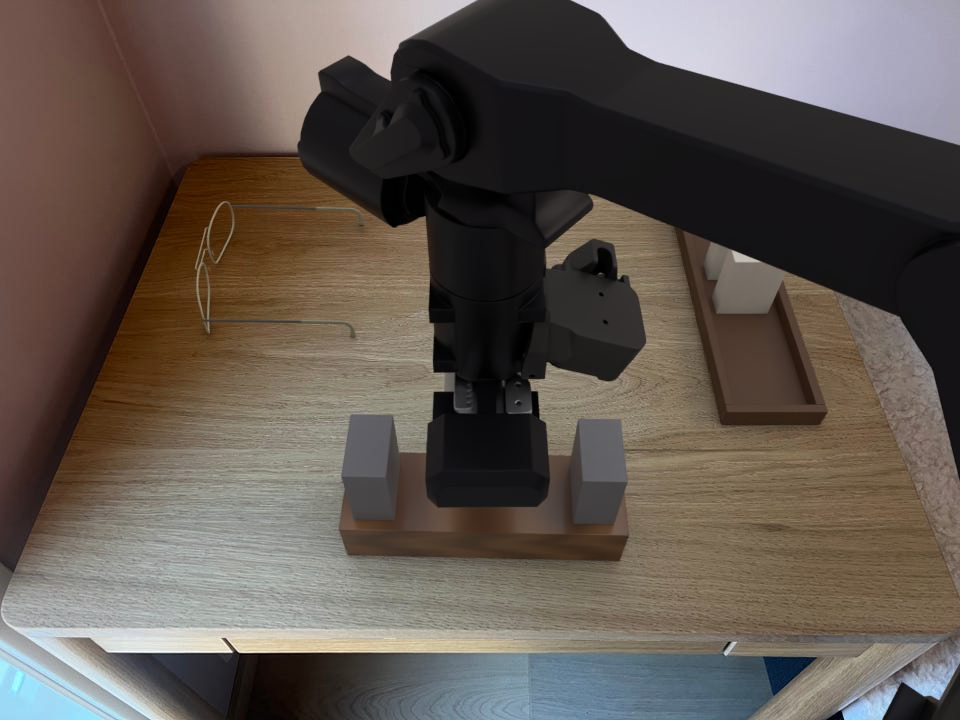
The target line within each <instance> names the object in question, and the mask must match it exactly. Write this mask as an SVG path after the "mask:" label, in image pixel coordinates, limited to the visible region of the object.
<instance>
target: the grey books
mask: <svg viewBox="0 0 960 720" xmlns="http://www.w3.org/2000/svg"><path fill="white" fill-rule="evenodd" d="M348 422H349V423H348V429H347V437H346V442H345V447H344V448H345V449H344V454H343V461H342V467H341V474H340V478H341V480H342V481H341V482H342V485H343V488H344V491H346V495H347V498H348V501H349V505H350V508H351V511H352V515H353V518H354V520H395V512H396V502H397V492H398V482H399V472H400V462H401V461H400V455H399V452H400V449H399V443H398V436H397V430H396V426H395V420H394V415H393V414H366V413H365V414H361V413H360V414H358V413H357V414H356V413H350V415H349V421H348ZM624 444H625V443H624V435H623V425H622V420H621V418H582V417H581V418H578V419H577V422H576V428H575V433H574V439H573V444H572V450H571V455H570V456H571V460H570V479H571V496H572V513H573V524H598V525H614V524H615V521H616V517H617V514H618V511H619V508H620V505H621V502H622V498H623V495H624V493H625V492H626V489H627V486H628V482H629V481H628V471H627V463H626V461H627V460H626V452H625V445H624Z"/></svg>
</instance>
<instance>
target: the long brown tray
mask: <svg viewBox="0 0 960 720" xmlns="http://www.w3.org/2000/svg"><path fill="white" fill-rule="evenodd" d="M674 229H675V230H674V231H675V233H676V238H677V242H678V245H679V247H678V248H679V250H680V255H681V258H682V263H683V268H684V272H685V276H686V280H687V281H686V282H687V285H688V289H689V292H690V293H689V294H690V298H691V301H692V305H693V310H694V314H695V319H696V322H697V327H698V331H699V336H700V340H701V344H702V348H703V353H704V356H705V360H706V364H707V370H708V374H709V377H710V382H711V386H712V391H713V394H714V399H715V402H716V407H717V412H718V416H719V419H720V420H719V421H720V425H726V426H727V425H728V426H729V425H731V426H733V425H734V426H735V425H736V426H742V425H743V426H744V425H745V426H746V425H747V426H749V425H750V426H756V425H757V426H759V425H766V426H769V425H770V426H771V425H774V426H775V425H776V426H779V425H780V426H781V425H782V426H783V425H784V426H786V425H787V426H789V425H790V426H791V425H794V426H795V425H796V426H797V425H798V426H800V425H801V426H802V425H803V426H804V425H806V426H808V425H809V426H810V425H814V426H817V425H818V426H819V425H821V424H822V422H823V421H824V419H825V418H826V417H827V415H828V413H829V410H828V407H827V404H826V401H825V398H824V394H823V393H822V389H821V387H820V384H819V381H818V378H817V375H816V372H815V369H814V366H813V364H812V360H811V357H810V354H809V351H808V349H807V346H806V343H805V340H804V337H803V335H802V332H801V328H800V326H799V323H798V320H797V317H796V313H795V310H794V308H793V305H792V302H791V300H790V296H789V294H788V290H787V288H786V285H785V283H784V279H783V280H782V282H781V285H780V287H779V289H778V291H777V293H776V296H775V298H774V300H773V302H772V305H771V307H770V309H769V311H768V313H767V314H716V312H715V308H714V304H713V300H712V295H713V293H714V290H715V287H716V284H717V281H718V280H707V277H706V273H705V269H704V262H705V259H706V256H707V252H708V249H709V246H710V243H711V242H710V241H708V240H705V239H703V238H700V237H698V236H695V235H693V234H690V233H688V232H685V231H683V230H680V229H678V228H675V227H674Z"/></svg>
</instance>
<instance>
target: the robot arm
mask: <svg viewBox="0 0 960 720" xmlns="http://www.w3.org/2000/svg"><path fill="white" fill-rule="evenodd" d="M389 75H390V79H388V78H387V77H384V76H383V75H380V74H379V73H377V72H376V71H374V70H373V69H372V68H370V66H368V65H367V64H366V63H364V62H363V61H361V60H359V59H357V58H355V57H353V56H352V55H350V54H348V55H346V56H344V57H342V58H341V59H338V60H337V61H335V62H333V63H331V64H329V65H327V66H326V67H324V68H322V69H320V70H319V71H318V72H317V76H318V82H319V87H320V92H319V93H318V94H317V95H316V97H315V99H314V100H313V101H312V102H311V104H310V106H309V107H308V110H307V112H306V114H305V116H304V118H303V122H302V125H301V129H300V135H299V141H298V142H297V144H296V148H297V154H298V159H299V160H300V163H301V165H302V167H303V168H304V169H305V171H306V172H307V173H308V174H309V175H311V176H312V177H314V178H315V179H317V180H318V181H320V182H322V183H323V184H325V185H326V186H328V187H329V188H331V189H332V190H334V191H336V192H337V193H339V194H340V195H341V196H343V197H345V198H346V199H347V200H349V201H351V202H352V203H354V204H356V205H357V206H358V207H360V208H361V209H363V210H364V211H366V212H368V213H370V215H372V216H374V217H375V218H377V219H379V220H380V221H382V222H383V223H384V224H386V225H388V226H389V227H391V228H393V229H395V228H398V227H400V226H406V225H408V224H411V223H413V222H414V221H417V220H418V219H421V218H425V228H426V229H425V230H426V240H427V255H428V256H427V257H428V271H429V287H428V288H429V289H428V309H427V311H428V323H429V324H433V339H432V340H433V341H432V342H433V343H432V370H433V371H432V373H433V374H444V373H454V391H444V390H443V391H433V392H432V393H433V394H432V396H433V397H432V416H431V417H432V420H431V421H429V422H428V423H427V428H426V448H425V449H426V451H425V453H426V471H425V484H426V492H427V498H428V499H429V500H430V501H431V502H432V503H433V504H434V505H435V506H437V507H438V508H452V507H538V506H539V505H540V504H541V503H542V502H543V501H544V500H545V499H546V498H547V497H548V491H549V485H550V469H549V455H550V454H549V444H548V430H547V422H546V421H544V420H542V419H541V414H540V400H539V399H540V398H539V391H538V390H532V387H531V386H532V385H531V381H530V380H545V379H546V373H547V365H548V364H550V365H551V366H553V367H554V368H556V369H559V370H563V371H569V372H572V373H578V374H582V375H586V376H591V377H595V378H597V380H598V381H603V382H614V381H616V380H617V379H618V378H619V377H620V375H622V373H623V372H624V371H625V370H626V369H627V367H628V366H629V365H630V364H631V363H632V361H633V360H634V359H635V358H636V357H637V356H638V355H639V353H640V352H641V351H642V349H644V348H645V346H646V345H647V335H646V329H645V324H644V319H643V313H642V308H641V301H640V298H639V296H638V295H639V294H638V293H637V292H636V290H635V289H634V288H633V287H632V285H631V282H630V276H629V275H626V274H622V275H621V276H620V278H619V277H618V276H619V274H618V273H619V272H618V271H619V268H618V267H619V265H618V259H617V254H616V248H615V245H614V243H611V242H608V241H604V240H600V239H597V238H591V239H589V240H588V241H586V242H585V243H584V244H582V245H580V246H579V247H577V248H575V249H574V250H572V251H571V252H569V253H568V254H567V255H566V257H565V259H564V260H563V261H562V263H557V264H554V265H553V266H551V268H548V267H547V251H546V249H547V248H549V247H550V246H551V245H552V244H553V243H554V242H556V241H557V240H558V239H559V238H560V237H562V236H563V235H564V234H565V233H567V232H568V231H569V230H570V229H571V228H573V227H574V226H575V225H576V224H577V223H579V222H580V221H581V220H582V219H584V218H585V217H586V216H587V215H588V214H589V213H591V212H592V211H593V209H594V205H595V203H594V201H593V198H592V197H591V196H594V197H598V198H600V199H603V200H605V201H608V202H610V203H612V204H615V205H618V206H620V207H623V208H625V209H628V210H630V211H633V212H635V213H638V214H641V215H642V216H645V217H647V218H651V219H653V220H655V221H658V222H660V223H663V224H665V225H668V226H669V227H673V228H674V229H675V228H678V229H680V230H683V231H685V232H688V233H690V234H693V235H695V236H698V237H700V238H703V239H705V240H708V241H710V242H713V243H715V244H718V245H720V246H723V247H725V248H728V249H730V250H733V251H735V252H738V253H740V254H743V255H745V256H748V257H750V258H753V259H755V260H758V261H760V262H763V263H765V264H768V265H770V266H773V267H775V268H778V269H780V270H783V271H785V272H786V273H788V274H790V275H793V276H796V277H798V278H801V279H803V280H806V281H808V282H811V283H813V284H815V285H817V286H820V287H823V288H825V289H828V290H830V291H833V292H835V293H838V294H840V295H843V296H846V297H848V298H850V299H853V300H856V301H858V302H860V303H863V304H865V305H868V306H871V307H873V308H875V309H878V310H881V311H883V312H885V313H888V314H891V315H893V316H896V317H898V318H899V319H900V321H901V323H902V324H903V326H904V328H905V329H906V331H907V332H908V334H909V336H910V337H911V339H912V340H913V342H914V343H915V345H916V347H917V348H918V350H919V351H920V353H921V354H922V356H923V358H924V359H925V361H926V362H927V365H929V367H930V369H931V371H932V374H933V378H934V382H935V386H936V390H937V395H938V398H939V403H940V407H941V411H942V415H943V419H944V423H945V427H946V432H947V436H948V439H949V440H948V441H949V443H950V444H949V445H950V448H951V452H952V456H953V461H954V463H955V468H956V469H955V470H956V473H957V478H958V482H960V144H957V143H953V142H950V141H947V140H942V139H940V138H936V137H932V136H929V135H925V134H921V133H917V132H914V131H910V130H906V129H902V128H899V127H895V126H891V125H888V124H885V123H881V122H877V121H873V120H870V119H868V118H867V119H866V118H862V117H859V116H855V115H852V114H849V113H845V112H841V111H838V110H833V109H831V108H826V107H824V106H819V105H815V104H813V103H808V102H805V101H801V100H797V99H794V98H790V97H788V96H787V97H786V96H782V95H779V94H776V93H771V92H769V91H765V90H761V89H757V88H754V87H750V86H747V85H744V84H743V85H742V84H740V83H735V82H732V81H729V80H725V79H721V78H717V77H714V76H710V75H706V74H704V73H699V72H696V71H691V70H688V69H685V68H681V67H679V66H678V67H677V66H674V65H670V64H666V63H663V62H659V61H656V60H654V59H651V58H650V57H648V56H645V55H643V54H642V53H640V52H637V51H636V50H633V49H631V48H629V47H628V46H627V44H626V43H625V42H624V41H623V39H622V38H621V37H620V35H619V34H618V33H617V32H616V30H614V28H613V26H612V25H611V24H610V23H609V22H608V20H607V19H606V18H605V17H604V16H602V14H600V13H599V12H597V11H595V10H593V9H591V8H589V7H587V6H585V5H583V4H580V3H578V2H576V1H574V0H475V1H472V2H471V3H469V4H467V5H465V6H464V7H462V8H460V9H458V10H457V11H455V12H452V13H451V14H450V15H448V16H446V17H444V18H442V19H440V20H438V21H436V22H435V23H433V24H431V25H429V26H428V27H425V28H424V29H422V30H420V31H419V32H417V33H415V34H413V35H410V36H409V37H407V38H406V39H404V40H402V41H400V42H399V43H398V47H397V49H396V51H395V52H394V54H393V56H392V62H391V67H390V73H389ZM518 372H521V375H519V374H518ZM503 380H504V381H505V382H504V386H503ZM881 720H960V662H959V664H958V665H957V667H956V669H955V671H954V673H953V674H952V676H951V678H950V680H949V681H948V683H947V684H946V687H945V689H944V691H943V692H942V694H941V696H940V697H939V699H938V698H937V697H934V696H933V695H925V696H924V695H923V694H921V693H920V692H919V691H917V690H916V689H915V688H913V687H911V686H910V685H908V684H907V683H905V682H904V681H901V682H900V683H899V686H898V688H897V690H896V691H895V694H894V695H893V697H892V699H891V701H890V703H889V705H888V706H887V708H886V711H885V713H884V715H883V716H882V719H881Z"/></svg>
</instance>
